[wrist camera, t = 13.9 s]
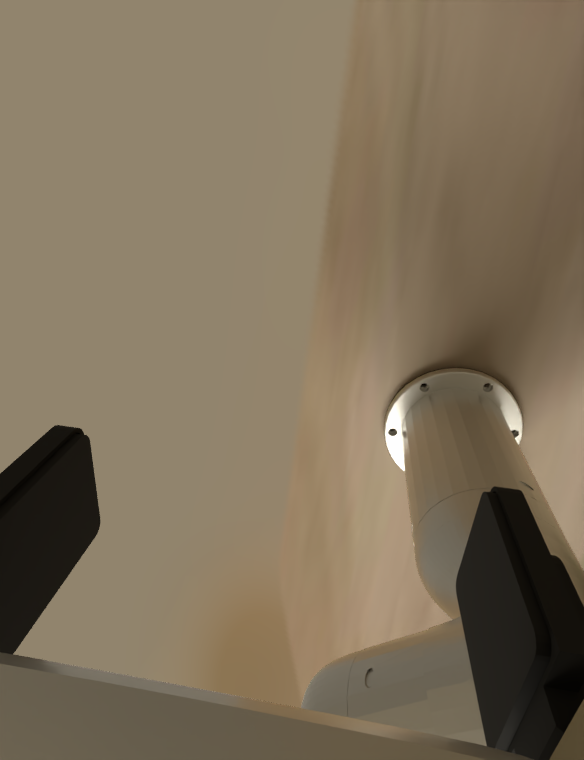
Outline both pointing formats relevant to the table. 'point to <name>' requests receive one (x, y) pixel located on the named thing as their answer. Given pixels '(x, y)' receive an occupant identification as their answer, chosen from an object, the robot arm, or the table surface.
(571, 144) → the table surface
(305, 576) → the table surface
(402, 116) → the table surface
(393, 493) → the table surface
